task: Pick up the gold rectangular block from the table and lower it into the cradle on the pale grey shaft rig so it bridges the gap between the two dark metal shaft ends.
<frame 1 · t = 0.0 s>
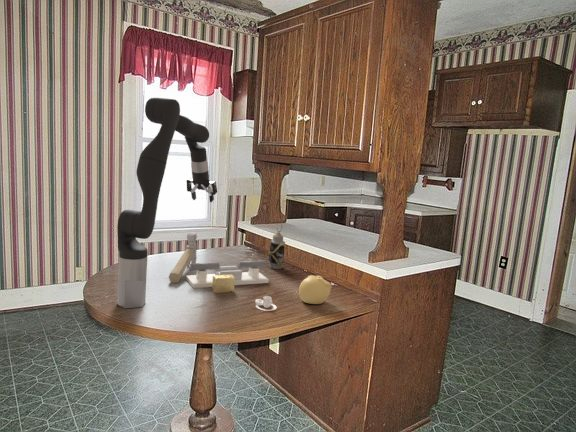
hand: (203, 200, 196), 31 cm above the table, tool tilted 20°, fingers open, 8 cm apart
hammer: (183, 273, 185), on the table
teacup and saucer: (267, 305, 158), on the table
shaft rig: (227, 280, 180), on the table
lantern: (275, 267, 209), on the table
tan round ball: (312, 302, 165), on the table
gold rectangular block: (222, 290, 168), on the table
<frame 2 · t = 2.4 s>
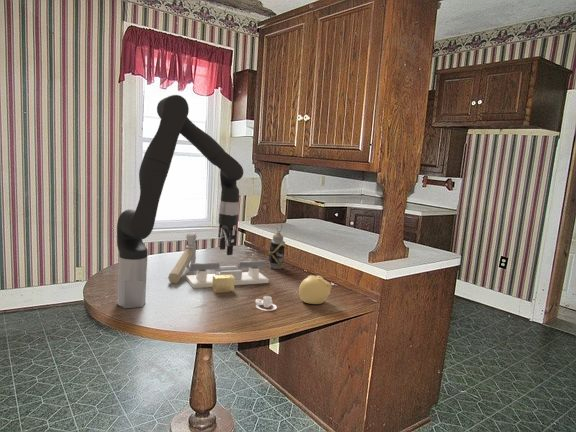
hand: (225, 252, 165), 16 cm above the table, tool pointing down, fingers open, 8 cm apart
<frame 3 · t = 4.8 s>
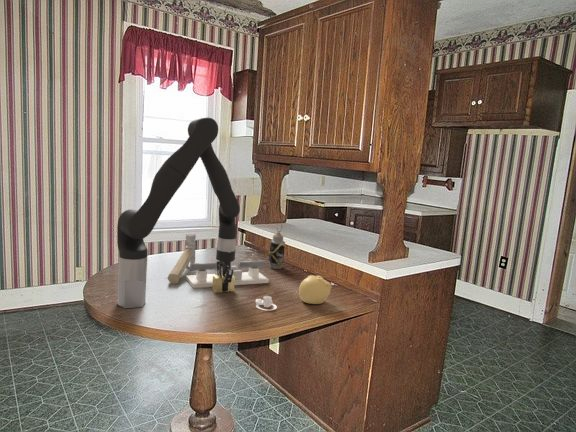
hand: (223, 289, 168), 0 cm above the table, tool pointing down, fingers closed on gold rectangular block, 4 cm apart
gold rectangular block: (223, 290, 168), on the table, touching gripper
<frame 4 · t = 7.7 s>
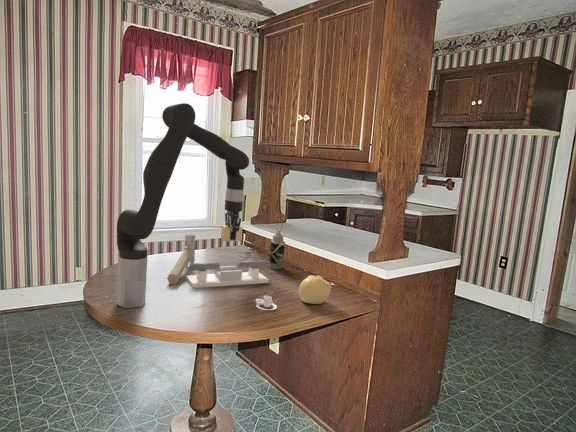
hand: (231, 238, 177), 19 cm above the table, tool pointing down, fingers closed on gold rectangular block, 4 cm apart
gold rectangular block: (231, 239, 177), point 18 cm above the table, touching gripper
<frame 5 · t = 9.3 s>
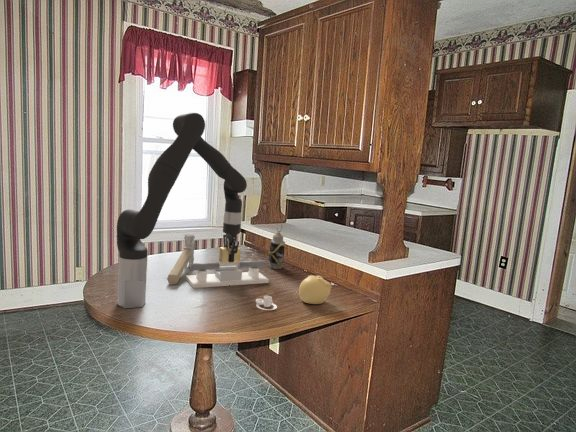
hand: (229, 260, 179), 9 cm above the table, tool pointing down, fingers closed on gold rectangular block, 4 cm apart
gold rectangular block: (229, 261, 179), point 9 cm above the table, touching gripper
when the fingers open (7 cm above the table, at t = 10.6 s): gold rectangular block drops 2 cm, resting on shaft rig.
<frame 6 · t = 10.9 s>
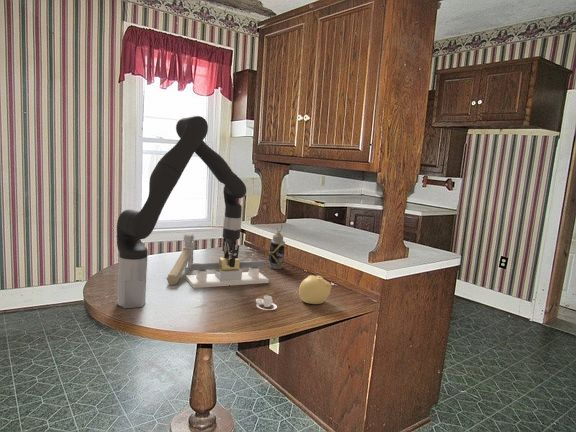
hand: (229, 264, 179), 7 cm above the table, tool pointing down, fingers open, 6 cm apart
gold rectangular block: (228, 272, 180), point 4 cm above the table, touching shaft rig
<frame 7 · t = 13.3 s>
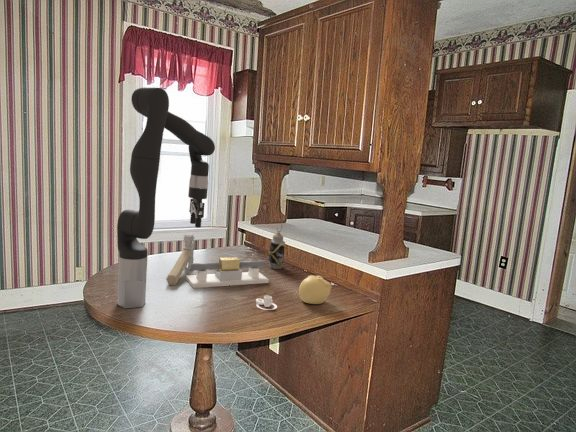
hand: (195, 225, 171), 24 cm above the table, tool pointing down, fingers open, 8 cm apart
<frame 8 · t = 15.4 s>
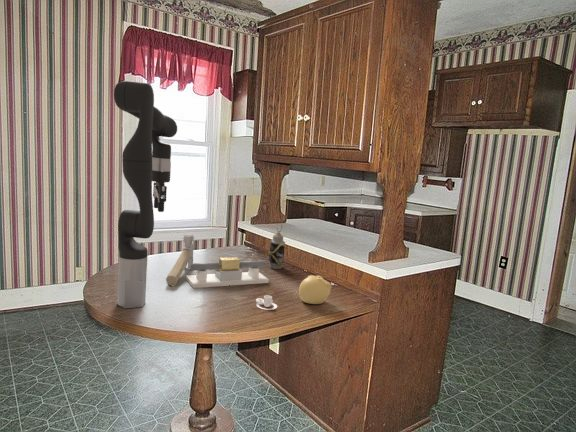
hand: (158, 209, 166), 30 cm above the table, tool pointing down, fingers open, 8 cm apart
at the end: gold rectangular block 0.0 cm off-centre on the shaft rig, point 4.0 cm above the shaft rig's base; gold rectangular block tilted 0°; the gripper is holding nothing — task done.
